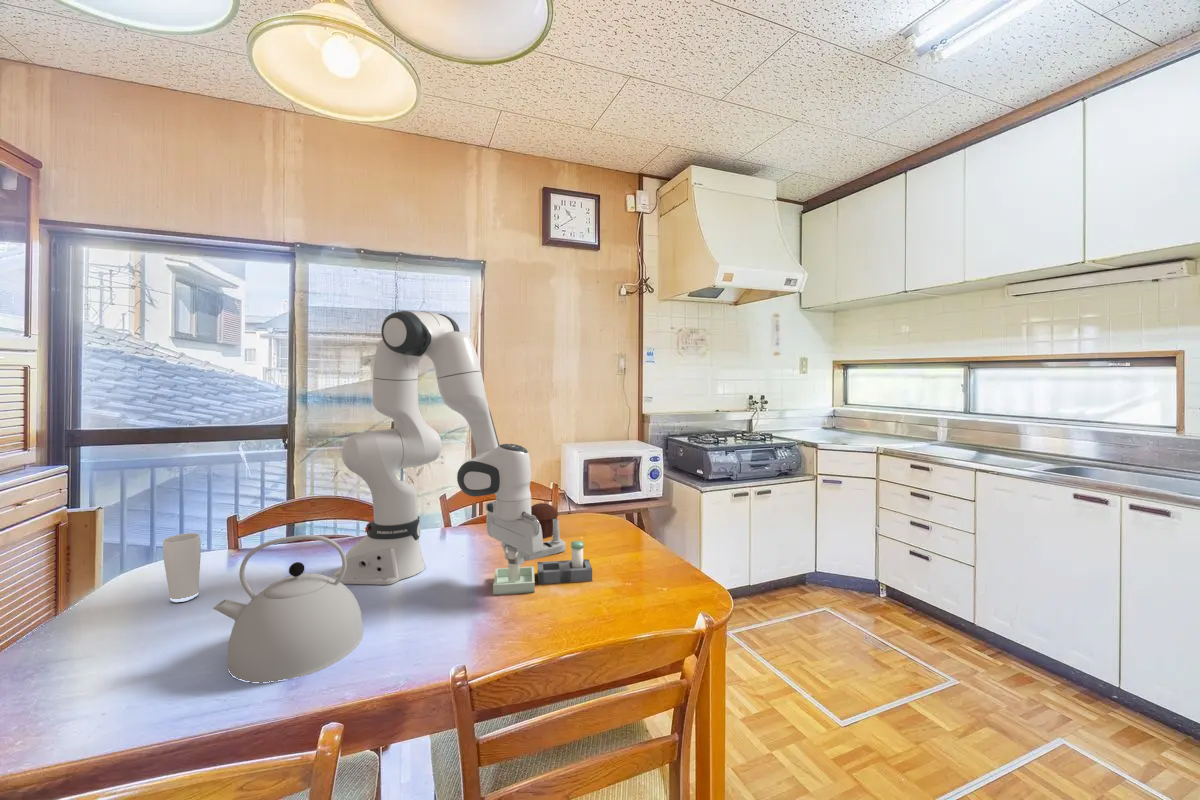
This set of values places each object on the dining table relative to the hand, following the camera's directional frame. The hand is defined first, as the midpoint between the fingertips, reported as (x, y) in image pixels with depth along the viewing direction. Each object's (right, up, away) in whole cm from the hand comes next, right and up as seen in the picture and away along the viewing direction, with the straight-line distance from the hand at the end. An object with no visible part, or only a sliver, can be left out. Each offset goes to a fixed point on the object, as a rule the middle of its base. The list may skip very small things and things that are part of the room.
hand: (514, 561), depth 123 cm
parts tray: (0, -6, 0) cm, 6 cm away
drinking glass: (-78, -7, -7) cm, 78 cm away
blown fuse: (0, -5, 0) cm, 5 cm away
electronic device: (+5, -5, +22) cm, 23 cm away
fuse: (+16, -6, +6) cm, 18 cm away
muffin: (+2, -4, +39) cm, 39 cm away
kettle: (-39, -8, -28) cm, 48 cm away
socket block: (+12, -6, +5) cm, 15 cm away
